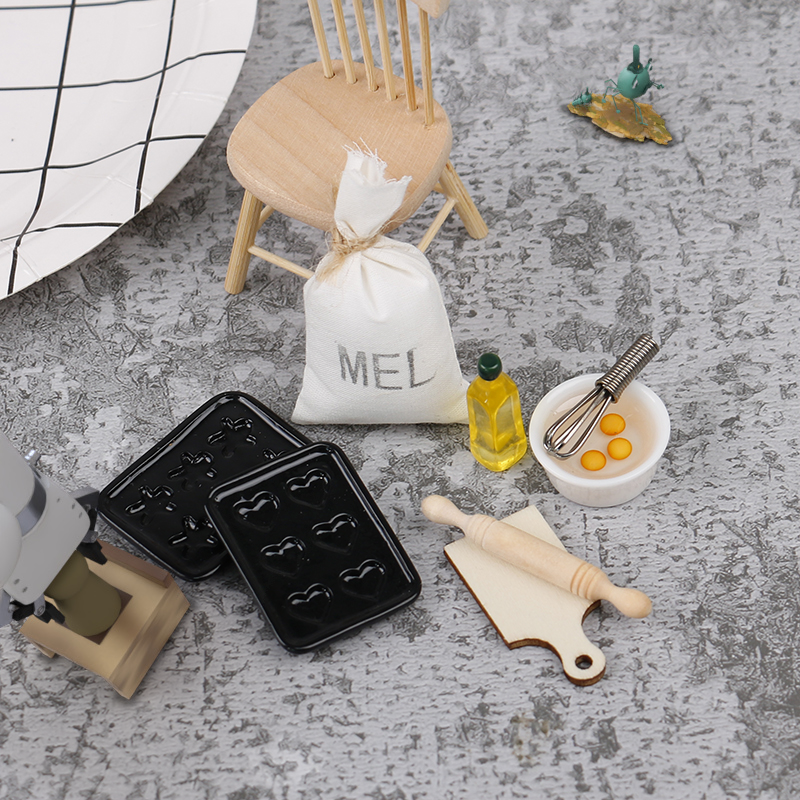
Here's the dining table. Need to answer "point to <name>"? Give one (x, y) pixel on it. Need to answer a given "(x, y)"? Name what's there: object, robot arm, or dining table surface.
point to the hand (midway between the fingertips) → (73, 585)
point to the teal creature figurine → (625, 105)
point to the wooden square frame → (119, 622)
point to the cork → (84, 597)
